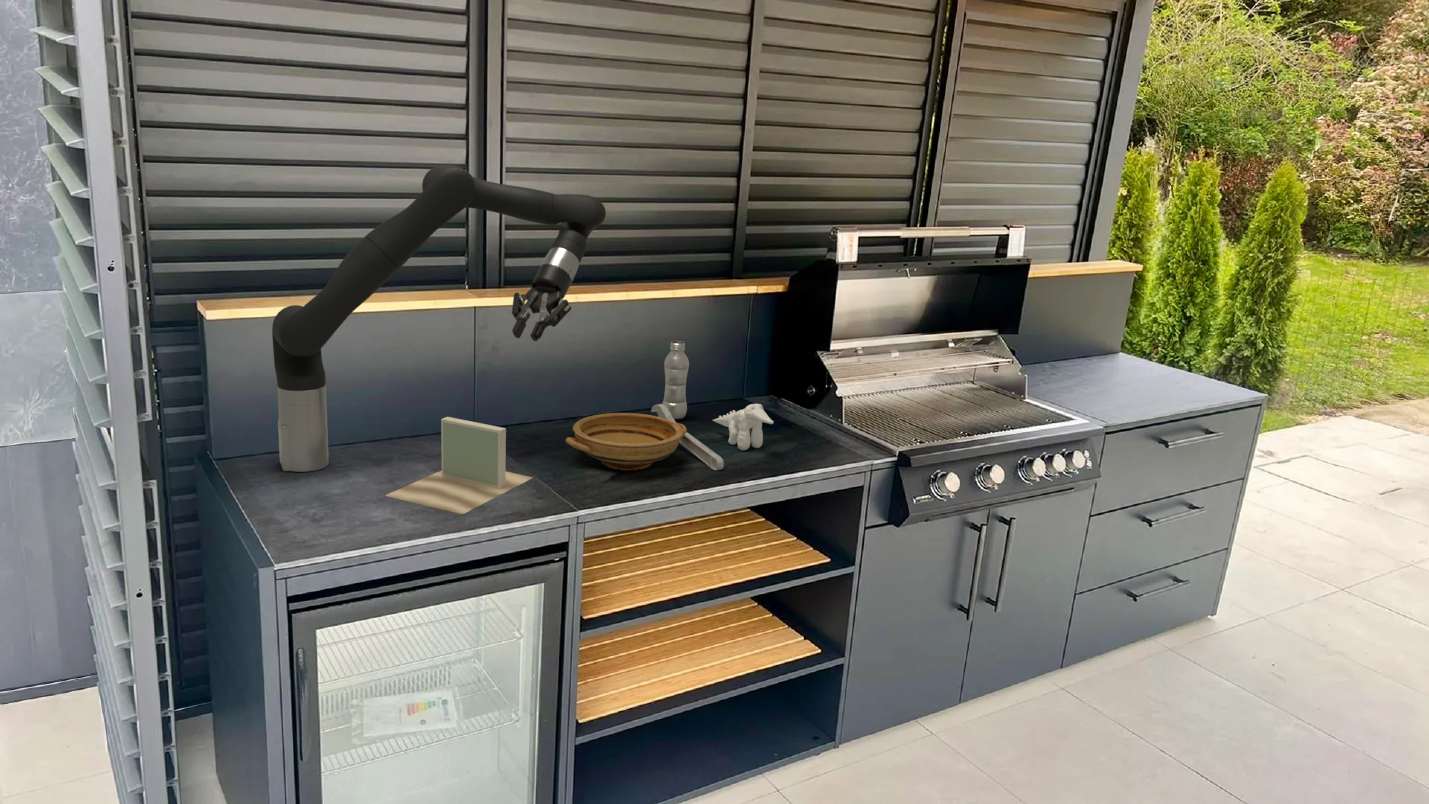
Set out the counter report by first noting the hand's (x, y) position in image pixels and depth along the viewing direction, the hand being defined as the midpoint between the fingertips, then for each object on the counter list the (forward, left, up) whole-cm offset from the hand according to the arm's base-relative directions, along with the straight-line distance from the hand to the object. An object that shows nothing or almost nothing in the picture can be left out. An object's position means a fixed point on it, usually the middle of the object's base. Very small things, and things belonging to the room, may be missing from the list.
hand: (524, 337), depth 221 cm
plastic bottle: (+47, +22, -28) cm, 59 cm away
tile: (-14, -11, -27) cm, 32 cm away
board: (-17, -14, -28) cm, 36 cm away
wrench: (+38, -3, -29) cm, 47 cm away
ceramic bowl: (+22, -6, -28) cm, 36 cm away
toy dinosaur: (+53, -2, -28) cm, 60 cm away
